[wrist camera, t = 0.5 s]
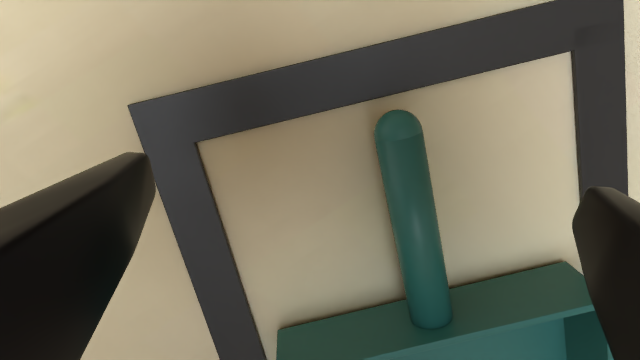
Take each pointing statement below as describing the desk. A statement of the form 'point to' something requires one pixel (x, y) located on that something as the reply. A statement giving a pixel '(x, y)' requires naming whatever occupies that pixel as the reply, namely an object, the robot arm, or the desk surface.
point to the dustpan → (449, 290)
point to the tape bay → (362, 85)
